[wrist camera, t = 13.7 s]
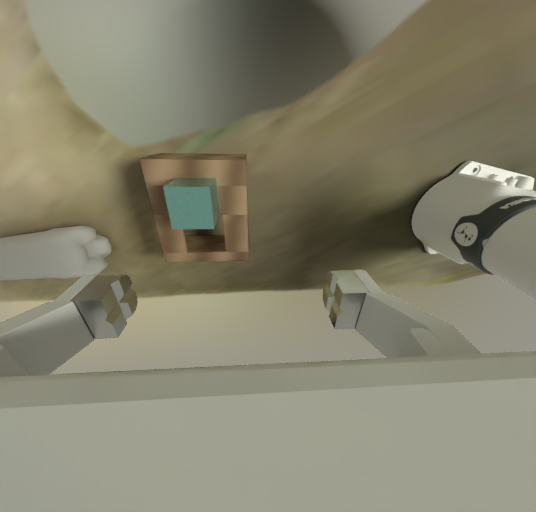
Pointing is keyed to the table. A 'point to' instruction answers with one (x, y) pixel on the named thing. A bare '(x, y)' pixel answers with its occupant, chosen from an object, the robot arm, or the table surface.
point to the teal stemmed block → (192, 203)
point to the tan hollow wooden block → (229, 198)
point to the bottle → (53, 254)
